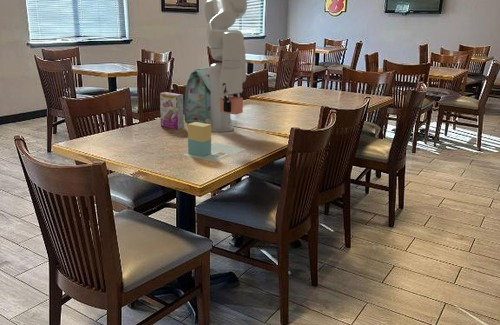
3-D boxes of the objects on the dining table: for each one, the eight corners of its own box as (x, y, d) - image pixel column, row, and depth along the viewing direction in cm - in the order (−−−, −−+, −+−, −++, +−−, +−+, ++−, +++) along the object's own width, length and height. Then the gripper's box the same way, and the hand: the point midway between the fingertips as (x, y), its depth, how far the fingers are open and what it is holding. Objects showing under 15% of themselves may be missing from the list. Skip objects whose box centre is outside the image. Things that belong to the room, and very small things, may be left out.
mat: (181, 155, 180) (181, 154, 180) (215, 143, 198) (215, 142, 198) (214, 163, 172) (214, 162, 172) (246, 149, 190) (246, 149, 190)
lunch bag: (210, 125, 231) (210, 70, 223) (181, 121, 236) (180, 68, 228) (228, 116, 251) (228, 66, 243) (200, 113, 257) (200, 64, 248)
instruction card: (207, 155, 180) (207, 155, 180) (216, 152, 185) (216, 151, 185) (220, 158, 177) (220, 157, 177) (229, 154, 182) (229, 154, 182)
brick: (220, 111, 185) (220, 97, 183) (227, 109, 189) (227, 95, 187) (235, 114, 181) (235, 99, 179) (242, 112, 185) (242, 97, 183)
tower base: (188, 153, 182) (187, 124, 178) (196, 150, 186) (195, 121, 182) (203, 157, 178) (203, 126, 174) (211, 154, 182) (211, 124, 178)
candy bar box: (160, 126, 225) (158, 93, 220) (167, 124, 229) (166, 91, 224) (177, 130, 219) (176, 95, 214) (184, 128, 223) (183, 94, 218)
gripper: (236, 61, 188) (235, 105, 193) (211, 65, 174) (211, 112, 180) (251, 63, 184) (250, 108, 190) (227, 67, 170) (226, 115, 176)
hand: (231, 110), depth 185 cm, fingers closed on brick, 5 cm apart
